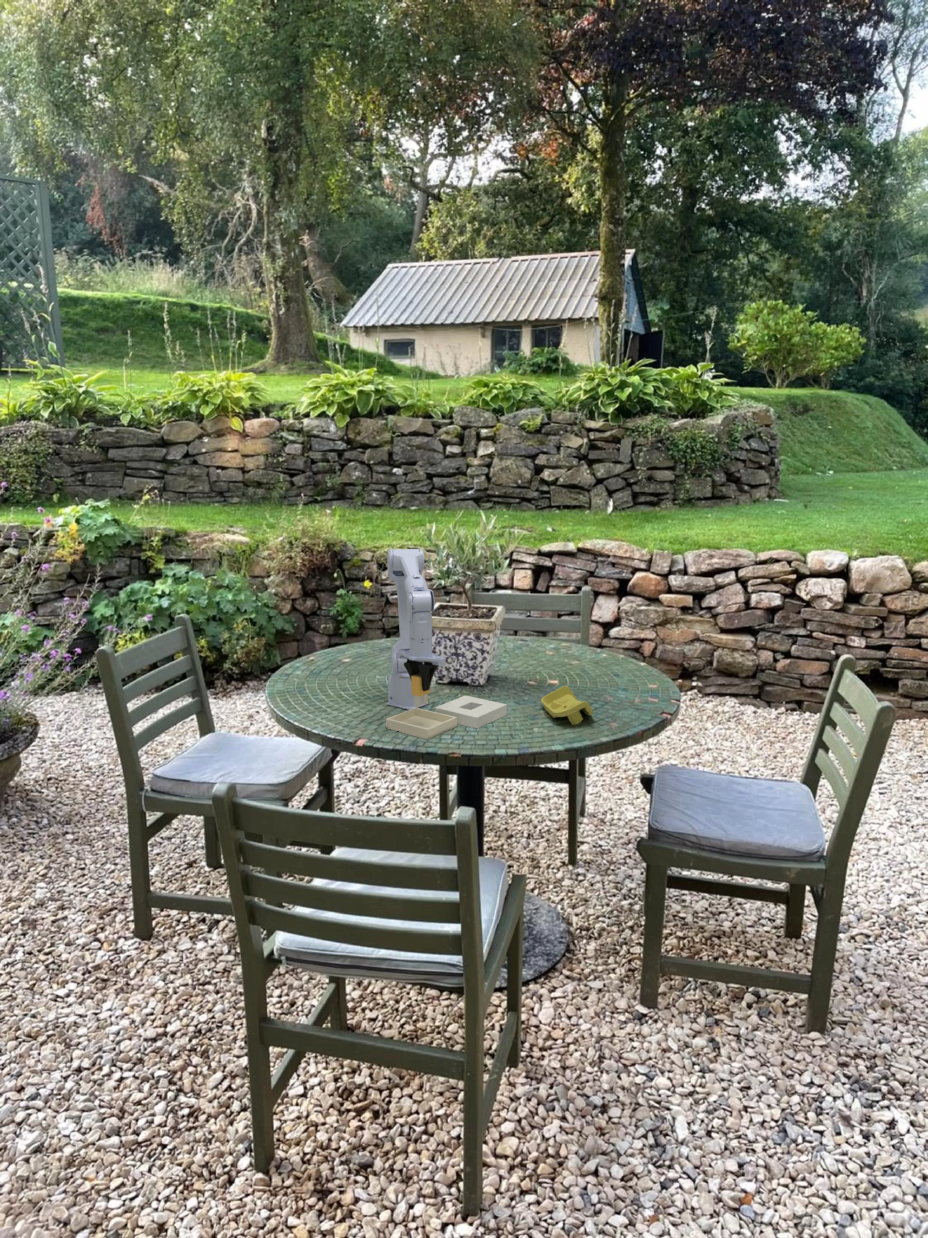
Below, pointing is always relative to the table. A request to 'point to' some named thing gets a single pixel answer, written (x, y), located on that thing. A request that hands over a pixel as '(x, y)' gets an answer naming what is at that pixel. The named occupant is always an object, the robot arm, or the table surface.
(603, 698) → the table surface
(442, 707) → the fuse block
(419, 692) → the fuse
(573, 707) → the plastic component
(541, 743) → the table surface
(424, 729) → the parts tray
